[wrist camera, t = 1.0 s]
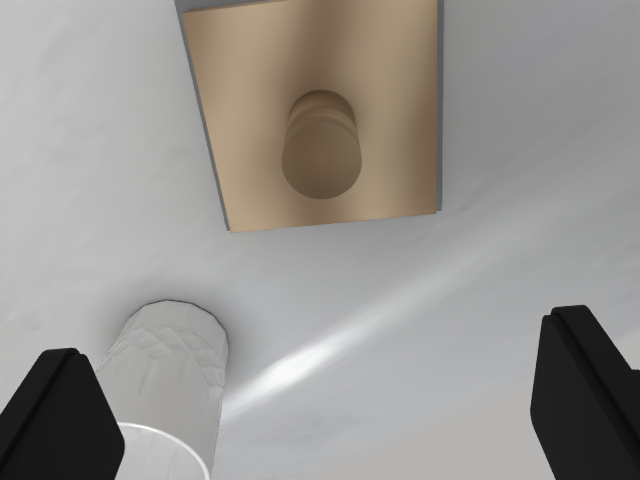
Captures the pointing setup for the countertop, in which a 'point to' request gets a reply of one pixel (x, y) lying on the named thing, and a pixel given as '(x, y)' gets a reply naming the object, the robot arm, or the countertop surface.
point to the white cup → (167, 391)
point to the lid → (319, 108)
